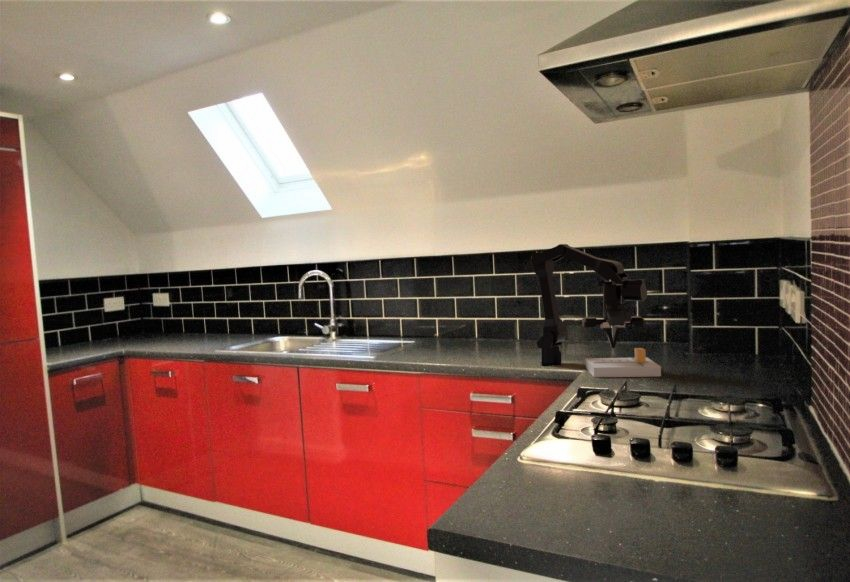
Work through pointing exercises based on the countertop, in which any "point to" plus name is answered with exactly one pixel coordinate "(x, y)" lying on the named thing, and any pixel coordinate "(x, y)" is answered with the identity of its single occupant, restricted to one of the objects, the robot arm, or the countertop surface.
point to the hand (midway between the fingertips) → (613, 348)
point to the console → (622, 367)
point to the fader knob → (640, 355)
